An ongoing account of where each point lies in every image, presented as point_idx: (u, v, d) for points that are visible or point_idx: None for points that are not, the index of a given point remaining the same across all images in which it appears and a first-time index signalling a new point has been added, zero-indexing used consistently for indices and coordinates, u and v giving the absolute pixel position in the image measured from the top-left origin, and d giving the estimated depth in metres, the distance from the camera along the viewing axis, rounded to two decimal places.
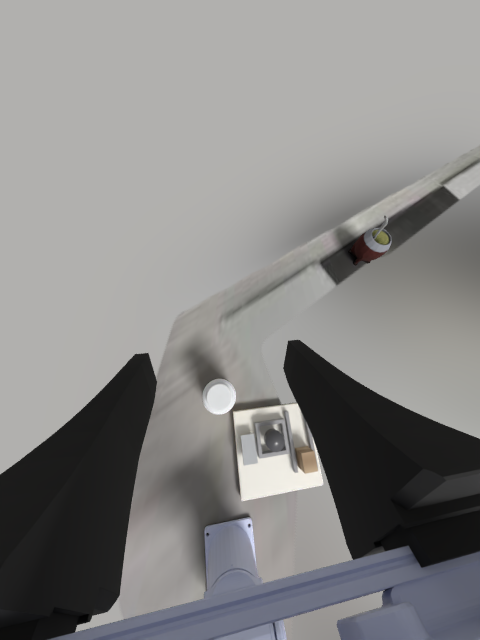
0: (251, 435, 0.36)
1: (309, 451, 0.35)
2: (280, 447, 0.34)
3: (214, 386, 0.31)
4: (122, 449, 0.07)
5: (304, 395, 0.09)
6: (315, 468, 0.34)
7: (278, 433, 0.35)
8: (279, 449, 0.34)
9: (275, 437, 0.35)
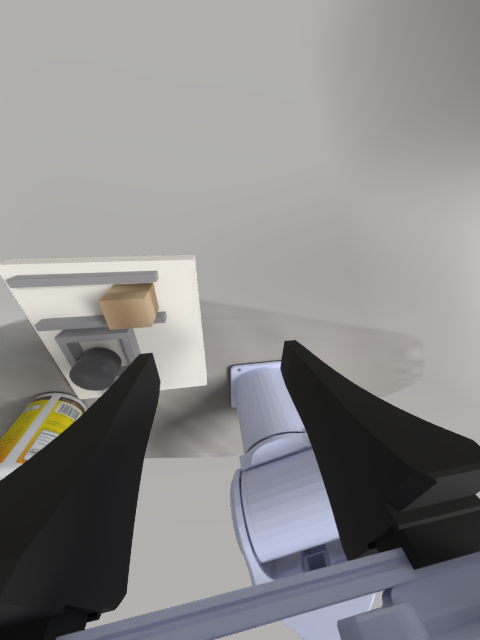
0: (103, 391, 0.20)
1: None
2: (102, 370, 0.16)
3: None
4: (128, 448, 0.07)
5: (300, 395, 0.09)
6: (138, 302, 0.14)
7: (73, 373, 0.16)
8: (106, 372, 0.17)
9: (83, 378, 0.16)
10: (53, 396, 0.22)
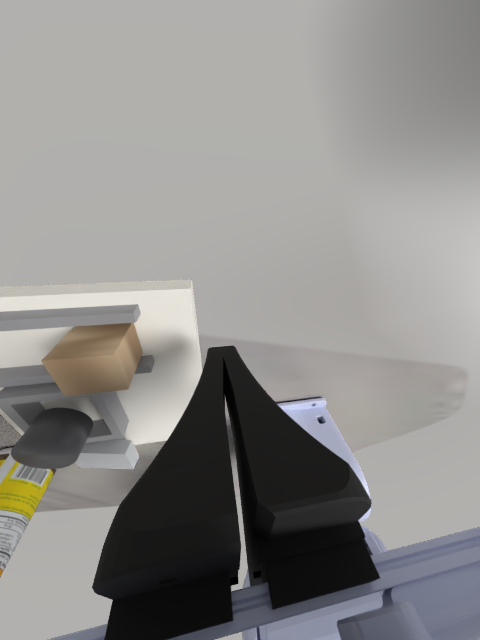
0: None
1: None
2: (59, 446, 0.11)
3: None
4: None
5: (229, 405, 0.09)
6: (105, 360, 0.09)
7: (16, 452, 0.11)
8: (66, 448, 0.12)
9: (33, 456, 0.12)
10: None
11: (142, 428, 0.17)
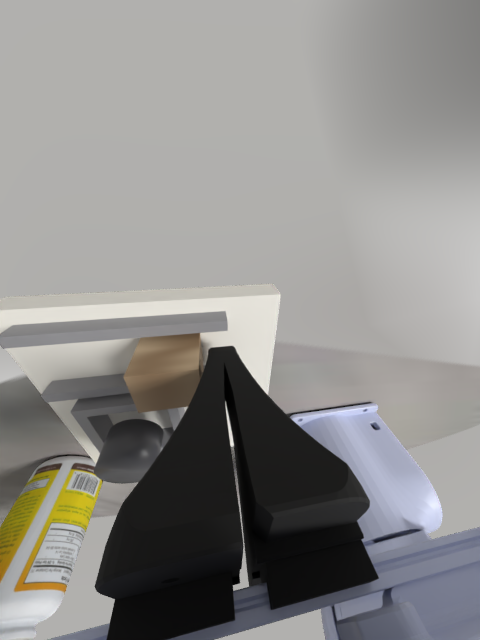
0: None
1: None
2: (142, 461, 0.11)
3: None
4: None
5: (228, 405, 0.09)
6: (188, 375, 0.09)
7: (100, 468, 0.11)
8: (149, 462, 0.11)
9: (114, 471, 0.11)
10: (65, 462, 0.17)
11: None
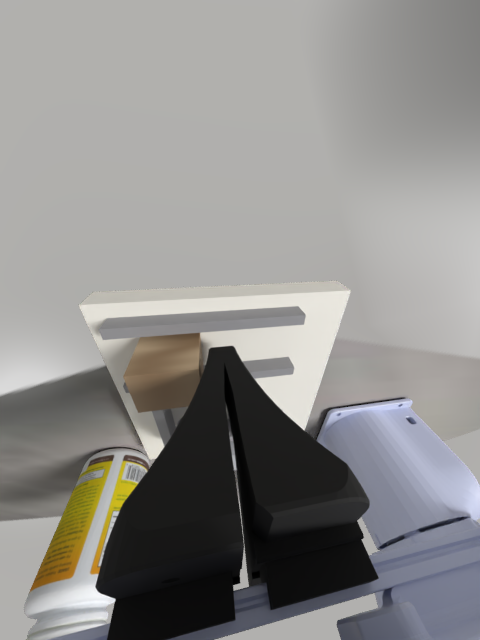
0: None
1: None
2: None
3: None
4: None
5: (228, 405, 0.09)
6: (188, 375, 0.09)
7: None
8: None
9: None
10: (116, 454, 0.17)
11: None
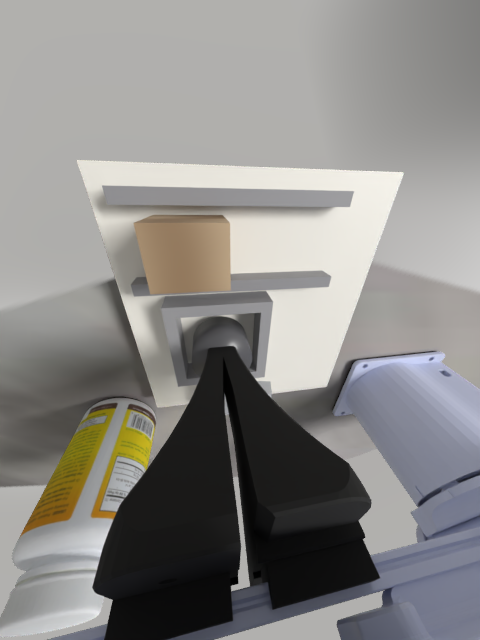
0: None
1: None
2: (241, 350, 0.10)
3: (16, 635, 0.09)
4: None
5: (229, 405, 0.09)
6: (216, 232, 0.07)
7: (199, 353, 0.10)
8: (246, 353, 0.11)
9: None
10: (120, 402, 0.16)
11: (268, 373, 0.15)
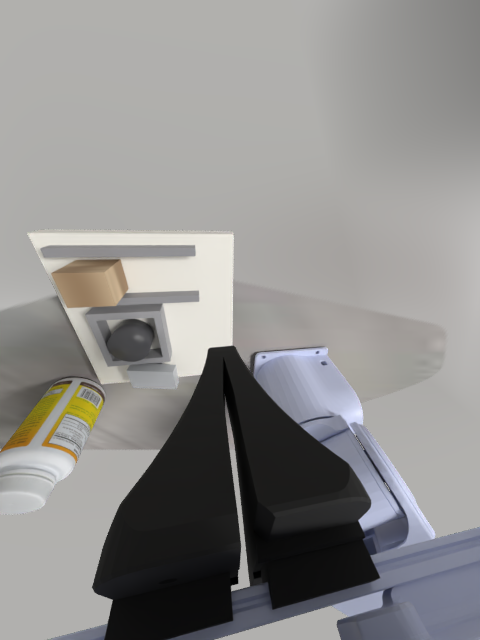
0: (130, 374, 0.19)
1: None
2: (139, 340, 0.17)
3: None
4: None
5: (229, 405, 0.09)
6: (98, 277, 0.13)
7: (111, 342, 0.16)
8: (143, 342, 0.17)
9: (120, 347, 0.17)
10: (74, 380, 0.22)
11: (181, 360, 0.21)
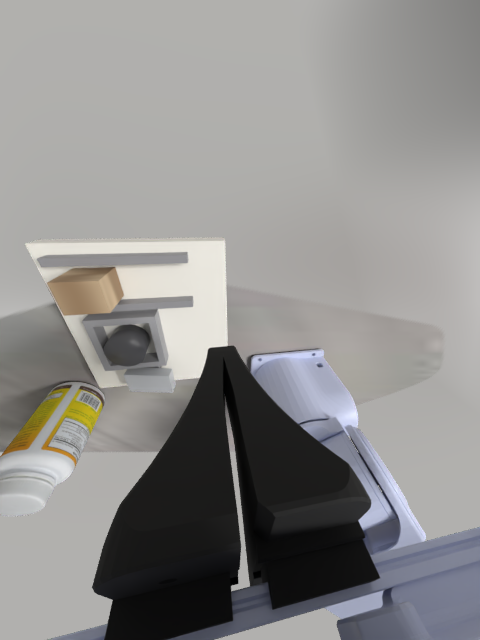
0: (127, 378, 0.20)
1: None
2: (135, 345, 0.17)
3: None
4: None
5: (229, 405, 0.09)
6: (92, 285, 0.13)
7: (107, 347, 0.17)
8: (139, 347, 0.17)
9: (117, 352, 0.17)
10: (74, 384, 0.22)
11: (178, 364, 0.22)
